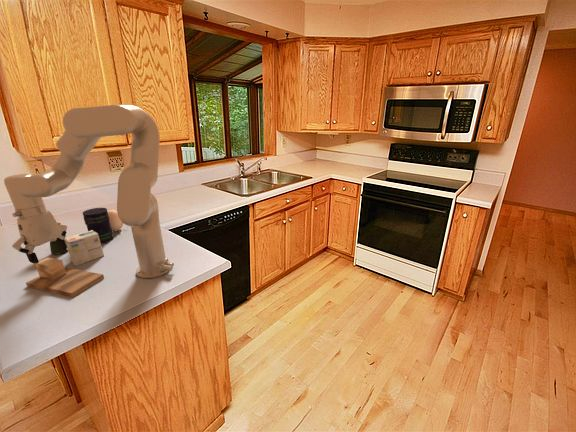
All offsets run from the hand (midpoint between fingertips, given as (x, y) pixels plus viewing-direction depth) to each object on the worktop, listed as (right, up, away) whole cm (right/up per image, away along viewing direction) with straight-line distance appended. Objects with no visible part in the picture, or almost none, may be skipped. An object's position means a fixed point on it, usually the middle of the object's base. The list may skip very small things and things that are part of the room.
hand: (49, 255), depth 103 cm
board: (+5, -10, +2) cm, 11 cm away
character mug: (-15, -2, +24) cm, 28 cm away
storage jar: (-4, +2, +36) cm, 36 cm away
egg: (-4, +6, +46) cm, 47 cm away
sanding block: (-1, -8, +3) cm, 8 cm away
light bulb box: (+1, -4, +18) cm, 19 cm away
